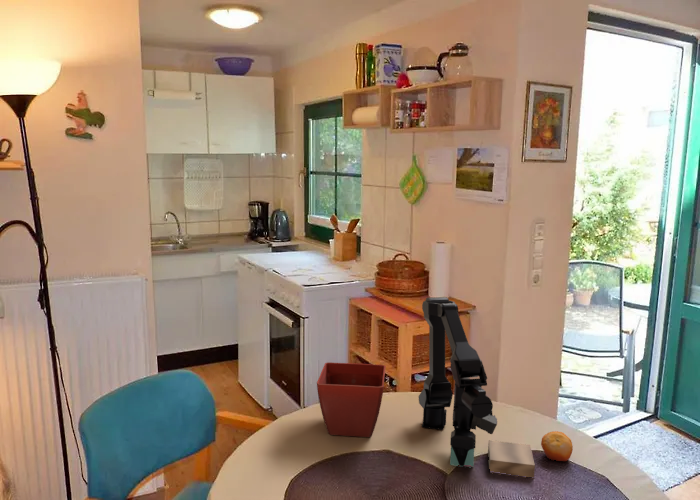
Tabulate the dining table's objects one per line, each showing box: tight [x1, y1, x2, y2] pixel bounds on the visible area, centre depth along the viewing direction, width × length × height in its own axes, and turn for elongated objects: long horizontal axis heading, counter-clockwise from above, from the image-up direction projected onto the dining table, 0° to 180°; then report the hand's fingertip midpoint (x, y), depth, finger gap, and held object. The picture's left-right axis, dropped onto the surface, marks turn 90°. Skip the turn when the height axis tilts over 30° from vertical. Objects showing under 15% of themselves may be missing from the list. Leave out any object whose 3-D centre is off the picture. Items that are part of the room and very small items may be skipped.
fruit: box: [540, 430, 574, 462], centre depth 153 cm, size 8×8×8 cm
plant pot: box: [316, 362, 387, 438], centre depth 168 cm, size 19×19×17 cm
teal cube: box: [449, 446, 475, 467], centre depth 150 cm, size 6×6×6 cm
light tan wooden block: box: [487, 439, 536, 478], centre depth 148 cm, size 11×11×4 cm
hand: (462, 456), depth 150 cm, fingers open, 9 cm apart
